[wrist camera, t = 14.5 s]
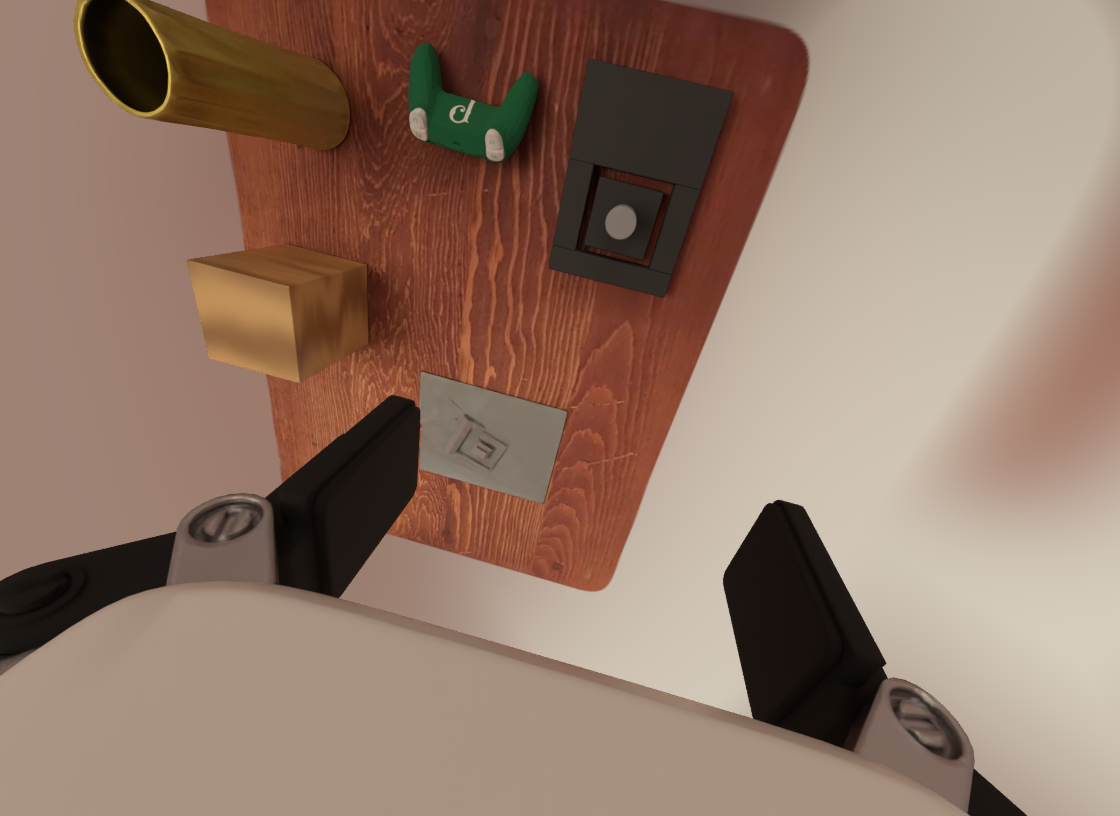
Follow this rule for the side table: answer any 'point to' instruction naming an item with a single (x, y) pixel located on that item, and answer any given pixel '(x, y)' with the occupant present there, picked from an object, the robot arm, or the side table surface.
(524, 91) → the gaming controller
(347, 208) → the side table surface
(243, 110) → the vase
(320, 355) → the stand
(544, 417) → the grey flat square slab
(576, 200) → the base pad
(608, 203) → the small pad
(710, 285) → the side table surface
